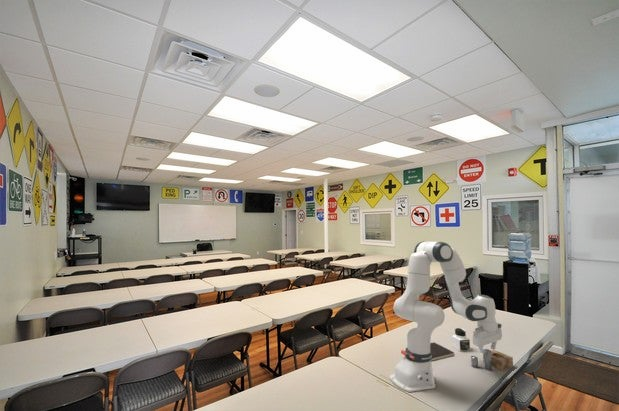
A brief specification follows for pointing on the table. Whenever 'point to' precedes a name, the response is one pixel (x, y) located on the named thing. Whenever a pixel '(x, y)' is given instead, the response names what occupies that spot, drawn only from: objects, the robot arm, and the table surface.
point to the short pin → (474, 361)
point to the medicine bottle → (460, 340)
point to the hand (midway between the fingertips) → (487, 350)
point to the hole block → (500, 360)
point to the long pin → (488, 360)
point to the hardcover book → (439, 351)
